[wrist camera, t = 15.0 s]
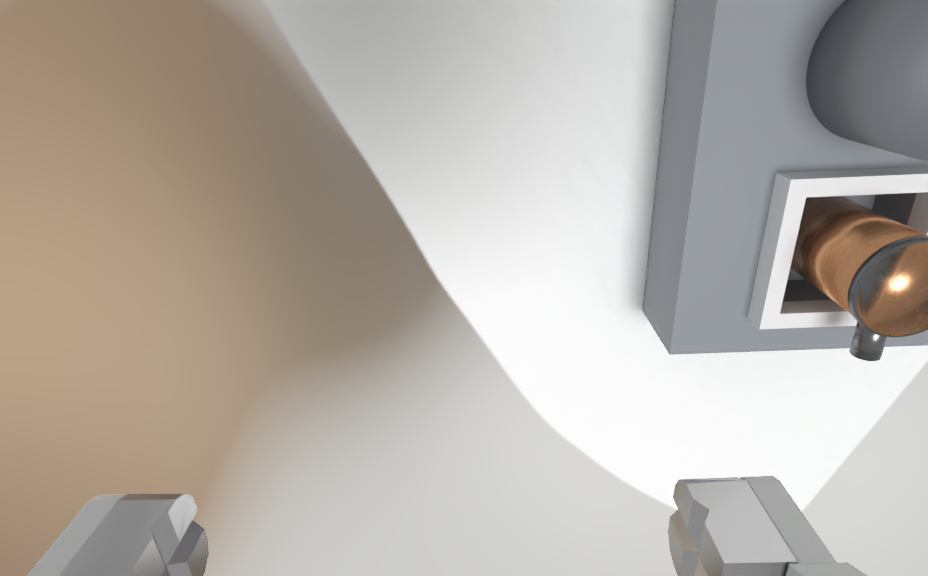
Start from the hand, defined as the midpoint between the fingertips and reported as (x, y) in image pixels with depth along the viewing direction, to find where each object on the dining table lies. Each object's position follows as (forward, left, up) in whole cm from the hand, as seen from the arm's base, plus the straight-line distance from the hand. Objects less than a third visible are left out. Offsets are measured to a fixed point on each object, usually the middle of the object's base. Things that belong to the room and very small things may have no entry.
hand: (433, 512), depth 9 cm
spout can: (+6, +22, -26) cm, 35 cm away
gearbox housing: (+1, +22, -29) cm, 36 cm away
